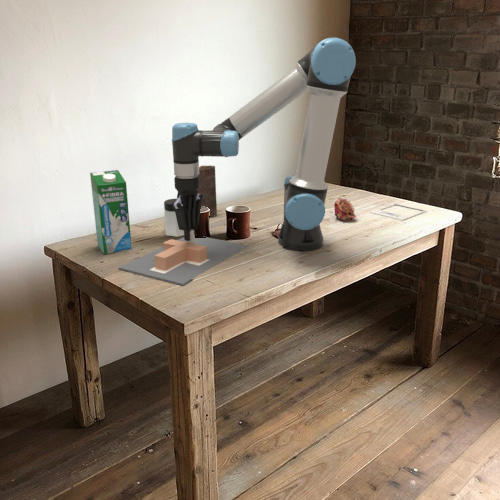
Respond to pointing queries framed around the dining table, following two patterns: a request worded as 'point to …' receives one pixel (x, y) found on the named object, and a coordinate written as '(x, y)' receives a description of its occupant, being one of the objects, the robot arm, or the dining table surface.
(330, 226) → the dining table surface
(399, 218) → the photo frame
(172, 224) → the jar
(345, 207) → the flower
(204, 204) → the candle
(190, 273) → the mat
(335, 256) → the dining table surface
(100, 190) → the milk carton
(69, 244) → the dining table surface
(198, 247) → the t block
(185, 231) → the robot arm
